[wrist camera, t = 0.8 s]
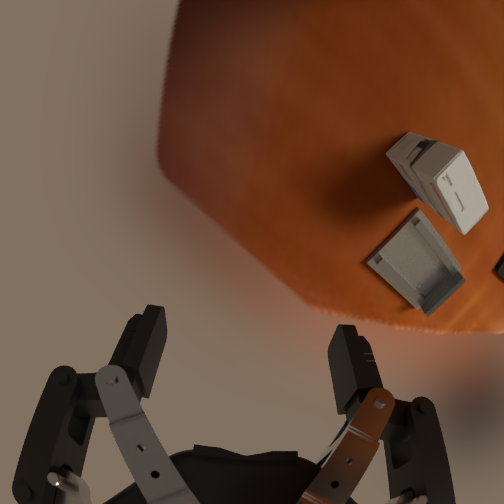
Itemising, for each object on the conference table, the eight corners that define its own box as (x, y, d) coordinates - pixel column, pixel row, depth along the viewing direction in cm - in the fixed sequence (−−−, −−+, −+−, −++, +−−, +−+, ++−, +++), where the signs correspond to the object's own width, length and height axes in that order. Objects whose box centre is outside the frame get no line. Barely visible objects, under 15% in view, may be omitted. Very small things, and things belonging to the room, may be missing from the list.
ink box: (439, 176, 32) (492, 209, 22) (417, 199, 34) (464, 239, 24) (408, 129, 30) (464, 148, 19) (383, 153, 31) (432, 181, 21)
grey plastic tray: (417, 206, 35) (430, 218, 31) (459, 265, 39) (470, 277, 36) (365, 260, 39) (373, 275, 36) (416, 307, 44) (424, 321, 41)
